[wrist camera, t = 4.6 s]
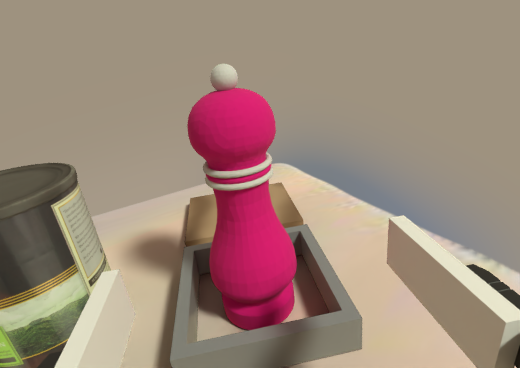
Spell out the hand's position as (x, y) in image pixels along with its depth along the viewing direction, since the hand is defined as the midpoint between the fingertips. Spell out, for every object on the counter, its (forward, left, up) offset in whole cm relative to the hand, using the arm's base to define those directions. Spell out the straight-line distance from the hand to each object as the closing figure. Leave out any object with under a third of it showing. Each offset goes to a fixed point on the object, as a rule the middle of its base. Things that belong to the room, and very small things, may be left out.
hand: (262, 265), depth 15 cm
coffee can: (-17, +10, -11) cm, 23 cm away
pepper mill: (0, +9, -11) cm, 14 cm away
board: (0, +25, -11) cm, 27 cm away
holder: (0, +9, -11) cm, 14 cm away
